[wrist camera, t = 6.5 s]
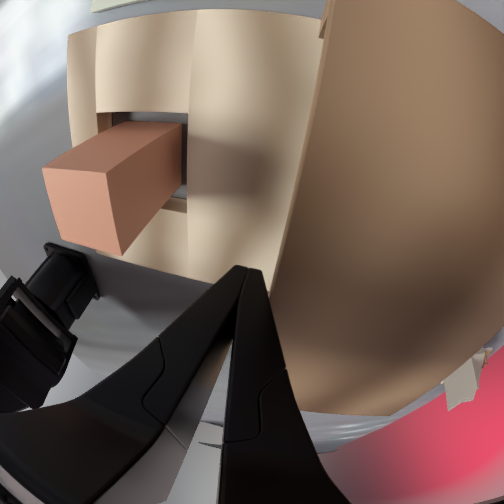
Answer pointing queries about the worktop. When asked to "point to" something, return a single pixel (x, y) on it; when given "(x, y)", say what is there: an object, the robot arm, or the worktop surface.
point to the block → (114, 183)
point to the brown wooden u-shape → (394, 207)
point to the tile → (110, 4)
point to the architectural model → (465, 379)
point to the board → (207, 125)
